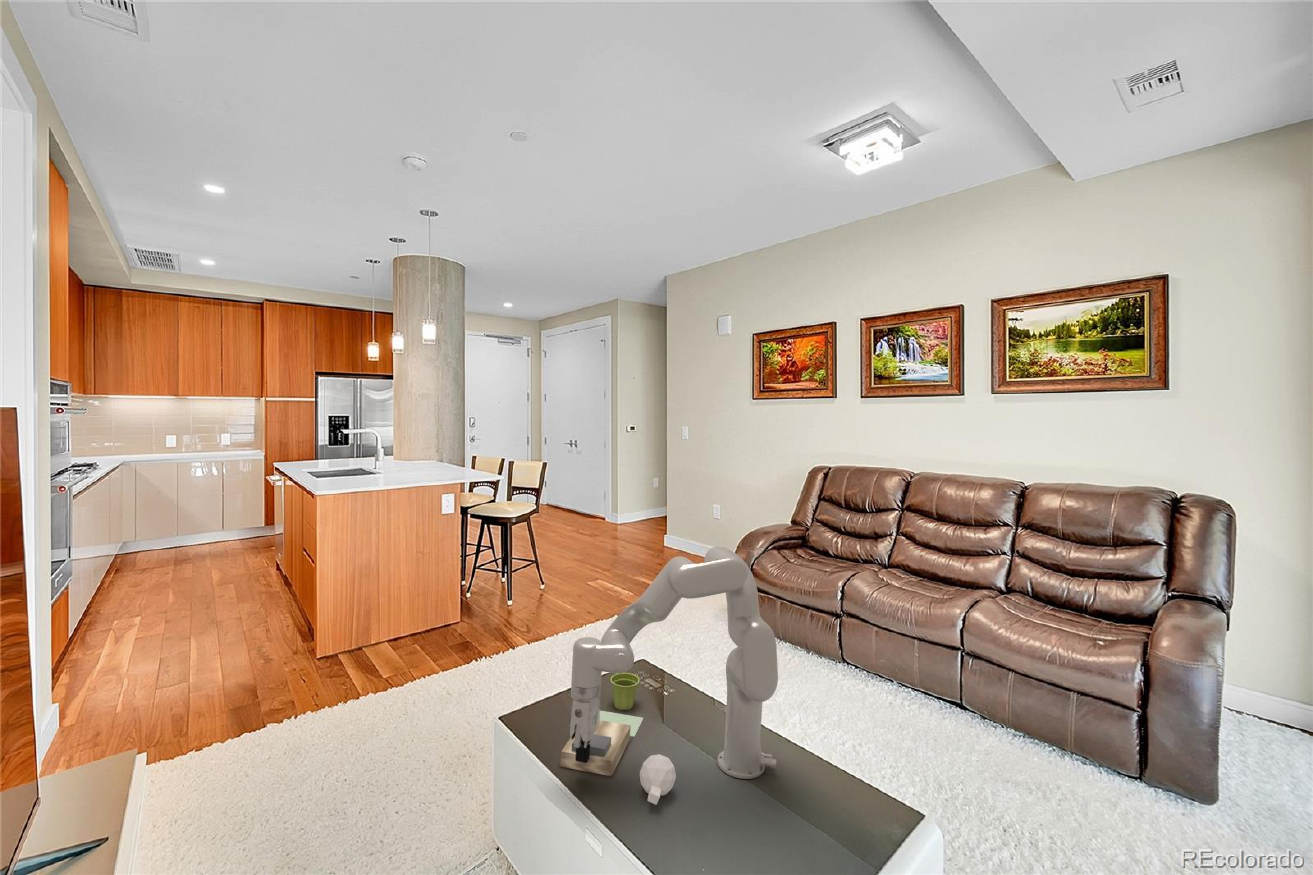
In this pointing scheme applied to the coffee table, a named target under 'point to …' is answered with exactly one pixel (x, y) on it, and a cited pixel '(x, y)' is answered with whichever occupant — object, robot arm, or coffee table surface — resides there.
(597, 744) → the grey rectangular block
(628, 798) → the coffee table surface
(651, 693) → the coffee table surface
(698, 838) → the coffee table surface
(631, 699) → the plant pot
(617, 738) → the light wood flat block
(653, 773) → the perfume bottle
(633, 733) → the mat
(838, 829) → the coffee table surface
